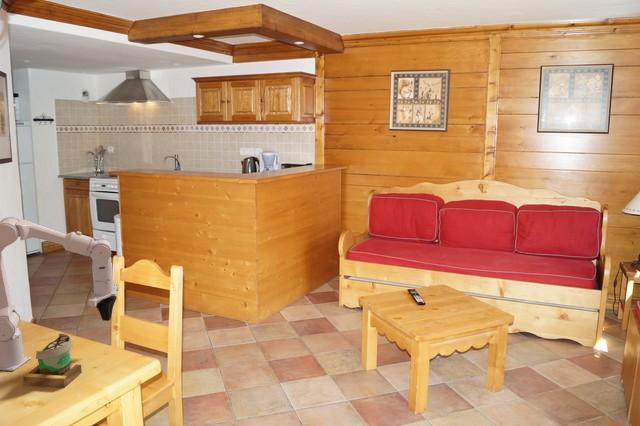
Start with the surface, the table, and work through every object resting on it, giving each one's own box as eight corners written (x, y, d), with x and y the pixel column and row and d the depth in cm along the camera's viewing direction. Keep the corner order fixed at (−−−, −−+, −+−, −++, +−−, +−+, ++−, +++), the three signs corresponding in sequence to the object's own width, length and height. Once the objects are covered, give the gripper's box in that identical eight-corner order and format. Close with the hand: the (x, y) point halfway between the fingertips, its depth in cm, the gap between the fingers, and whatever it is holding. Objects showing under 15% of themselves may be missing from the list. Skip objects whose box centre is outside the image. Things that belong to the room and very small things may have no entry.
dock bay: (24, 384, 140) (22, 375, 139) (43, 370, 148) (42, 361, 147) (64, 387, 138) (63, 378, 138) (81, 372, 146) (80, 363, 146)
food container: (60, 386, 139) (57, 352, 137) (38, 385, 139) (35, 352, 137) (83, 364, 151) (80, 333, 149) (63, 363, 151) (59, 332, 149)
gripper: (102, 287, 149) (106, 330, 152) (126, 271, 163) (129, 311, 166) (80, 286, 150) (84, 328, 152) (106, 271, 164) (109, 310, 167)
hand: (106, 319), depth 159 cm, fingers closed
